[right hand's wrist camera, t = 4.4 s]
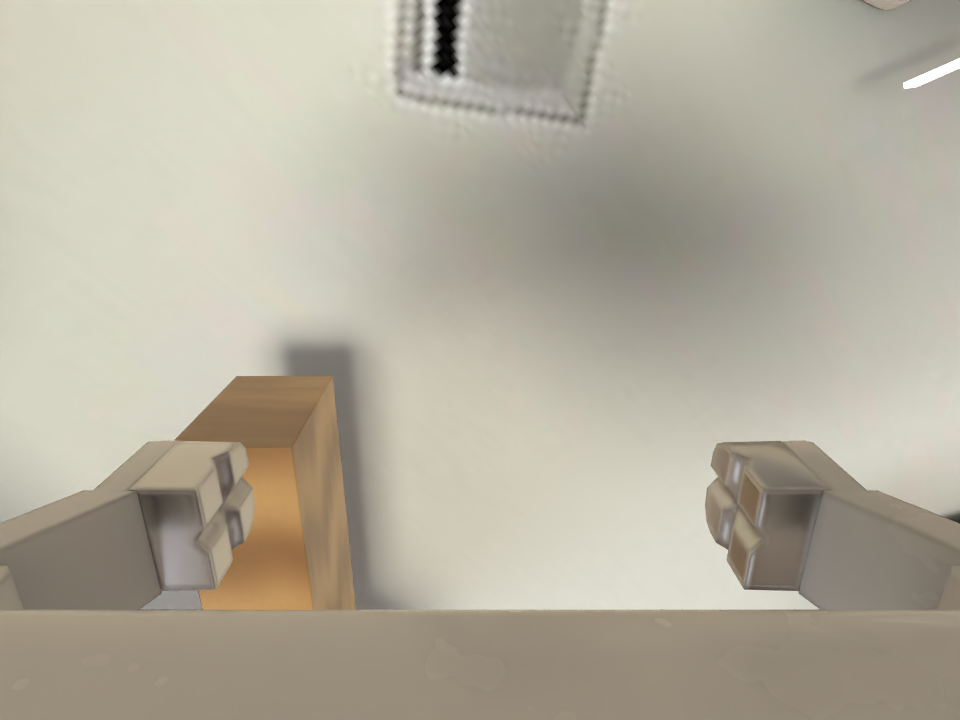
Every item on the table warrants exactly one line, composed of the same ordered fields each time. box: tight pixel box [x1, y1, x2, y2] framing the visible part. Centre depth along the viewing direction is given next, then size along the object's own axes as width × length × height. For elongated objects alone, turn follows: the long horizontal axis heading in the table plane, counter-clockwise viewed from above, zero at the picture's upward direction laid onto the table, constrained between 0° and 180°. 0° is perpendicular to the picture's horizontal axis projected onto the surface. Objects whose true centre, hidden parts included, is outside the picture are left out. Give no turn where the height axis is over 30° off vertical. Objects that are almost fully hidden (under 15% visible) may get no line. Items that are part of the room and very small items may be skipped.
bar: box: [174, 376, 356, 610], centre depth 35 cm, size 28×6×8 cm, turn 0°
